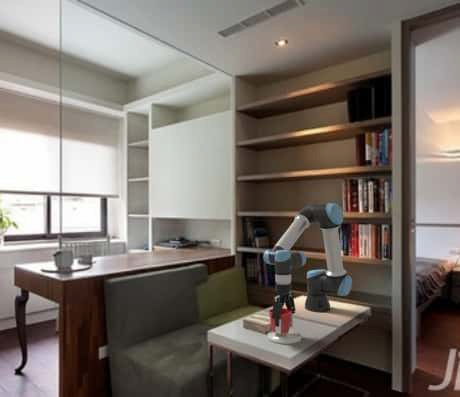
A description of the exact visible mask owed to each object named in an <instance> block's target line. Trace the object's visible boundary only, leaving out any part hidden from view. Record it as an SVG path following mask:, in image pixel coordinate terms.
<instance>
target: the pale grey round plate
mask: <svg viewBox="0 0 460 397" xmlns="http://www.w3.org/2000/svg"><path fill="white" fill-rule="evenodd" d="M302 336H303V335H302V334H301V333H300V332H298V331H295V330H291V329H289V332H288V333H285V334H278V333H274V332H273V330H272V331H270V332H268V333H267V339H268V341H271V342H272V343H276V344H279V345H280V344H281V345H293V344H294V345H295V344H298V343H299V342H301V341H302V340H303V338H302Z"/></svg>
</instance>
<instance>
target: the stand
mask: <svg viewBox="0 0 460 397" xmlns="http://www.w3.org/2000/svg"><path fill="white" fill-rule="evenodd" d="M242 327H243V329H244V328H245V329H248V330H251V331H255V332H258V333H261V334H268V333H269V332H271V331H273V330H272V325H271V320H270V315H269V314H265V313H260V312H259V313H256V314H254V315H251V316H249V317H246V318H244V319H242Z"/></svg>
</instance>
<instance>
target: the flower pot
mask: <svg viewBox="0 0 460 397" xmlns="http://www.w3.org/2000/svg"><path fill="white" fill-rule="evenodd" d="M272 311H273V308H271V309H269V310H268V315H269V316H270V320H271V325H272V331H273V332H274V333H275V319H273V318H272ZM291 316H292V311H291V310H287V308H286V307H285V308H284V307H283V308H282V312H281V316H280V319H281V334H285V333H288V332H289V330H290V328H291V327H290V322H291ZM278 334H279V333H278Z"/></svg>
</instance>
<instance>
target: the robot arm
mask: <svg viewBox="0 0 460 397" xmlns="http://www.w3.org/2000/svg"><path fill="white" fill-rule="evenodd" d="M343 221H344V212H343V208H342V207H341V206H340V205H339V204H337V203H332V202H327V203H326V202H324V203H322V202H321V203H311V204H308V205H307V206H305V207H303V208H302V209H301V210H299V211H298V212H297V214H296V215H295V216H294V221H293V222H292V223H291V224H290V226H289V227H288V228H287V230H286V231H284V233H283V234H282V236H281V237H280V239H279V240H278V241H277V242H276V244H275V245H274V247H273V248H272V249H266V250H265V251H264V252H263V260H264V263H266V264H268V265H273V266H274V269H275V270H274V271H275V274H274V275H275V276H274V278H275V291H276V293H277V295H276V296H273V304H272V309H273V311H272V318H273V319H275V333H279V334H281V319H280V316H281V312H282V308H284V306H285V308H286V309H287V310H291V311H292V316H291V322H290V328H292V329H293V328H294V314H296V306H295V305H296V304H295V298H294V292H293V291H292V269H295V268H301V267H303V266H305V264H307V263H306V262H307V256H306V255H305V253H304V252H303V251H290V250H291V248H293V246H294V245H295V243H296V242H297V240H298V239H299V238H300V236H301V235H302V233H303V232H304V231H305V229H307V228H309V227H310V226H311V225H313V224H315V225H317V224H318V229H319V230H321V231H322V237H323V245H324V252H325V258H326V259H325V260H326V265H327V266H326V267H327V269H324V268H323V269H312V270H309V271H307V273H306V285H307V286H306V287H307V288H306V289H307V290H306V291H307V293H306V294H307V295H306V298H305V301H304V309H306V310H307V311H311V312H318V313H319V312H320V313H321V312H322V313H323V312H329V311H331V304H330V300H329V297H328V294H330V295H335V296H338V297H339V296H341V297H344V296H345V297H346V296H347V295H349V294H350V292H351V290H352V287H353V279H352V277H351V276H350V275H348V274H347V272H348V271H347V270H346V269H344V265H343V255H342V249H341V242H340V241H341V240H340V235H339V228H340V227H341V224H342V223H343Z"/></svg>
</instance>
